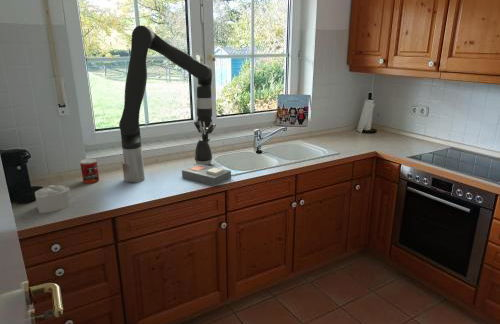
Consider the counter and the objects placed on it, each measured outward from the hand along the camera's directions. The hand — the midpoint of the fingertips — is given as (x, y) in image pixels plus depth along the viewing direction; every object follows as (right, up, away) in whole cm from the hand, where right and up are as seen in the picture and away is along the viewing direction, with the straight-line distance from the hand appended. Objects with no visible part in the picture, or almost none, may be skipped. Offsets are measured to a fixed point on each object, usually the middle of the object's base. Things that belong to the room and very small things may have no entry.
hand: (205, 141), depth 184 cm
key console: (0, -18, +6) cm, 19 cm away
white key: (+5, -18, +2) cm, 18 cm away
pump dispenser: (-4, -12, +27) cm, 30 cm away
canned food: (-58, -20, +3) cm, 62 cm away
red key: (-5, -17, +9) cm, 20 cm away
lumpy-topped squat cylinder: (-61, -30, -26) cm, 73 cm away
